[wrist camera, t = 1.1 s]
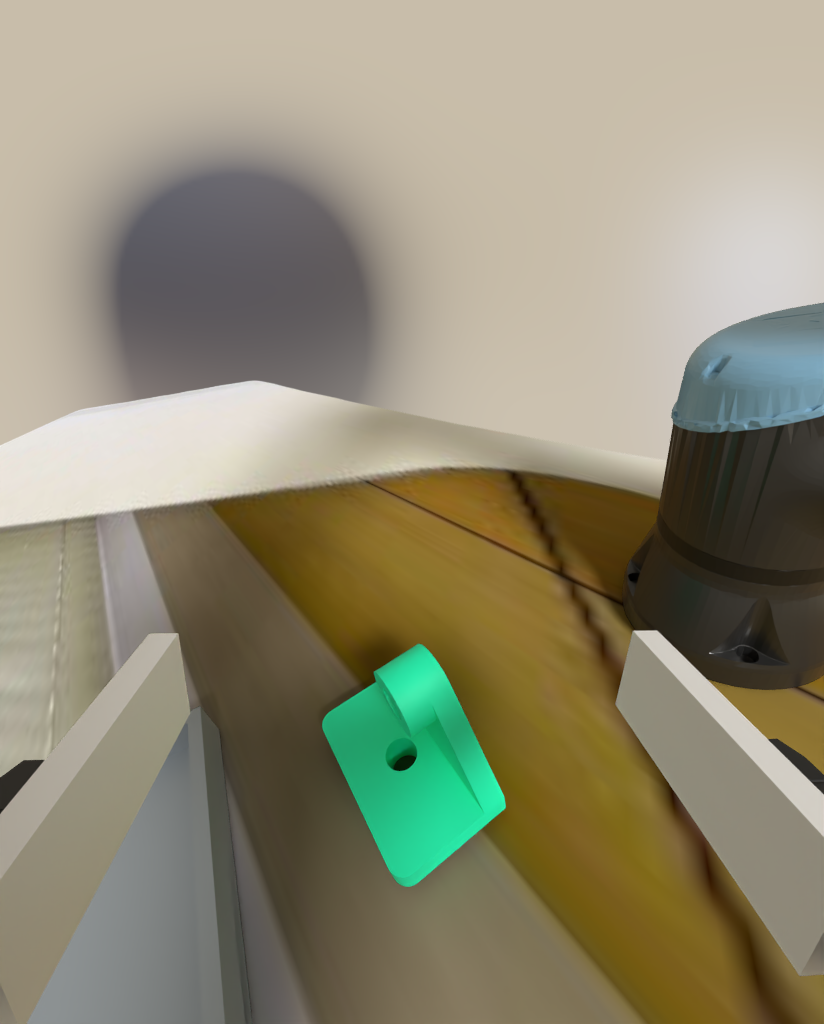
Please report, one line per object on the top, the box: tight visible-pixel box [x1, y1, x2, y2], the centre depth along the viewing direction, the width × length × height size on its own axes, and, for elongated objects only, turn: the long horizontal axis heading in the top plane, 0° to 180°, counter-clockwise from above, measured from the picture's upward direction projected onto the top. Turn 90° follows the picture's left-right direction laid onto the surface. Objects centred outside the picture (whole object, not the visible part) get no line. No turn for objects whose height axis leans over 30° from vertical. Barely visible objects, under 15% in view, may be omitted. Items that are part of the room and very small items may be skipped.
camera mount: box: [322, 644, 506, 887], centre depth 29 cm, size 12×8×10 cm, turn 32°
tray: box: [27, 706, 252, 1024], centre depth 25 cm, size 16×22×4 cm
